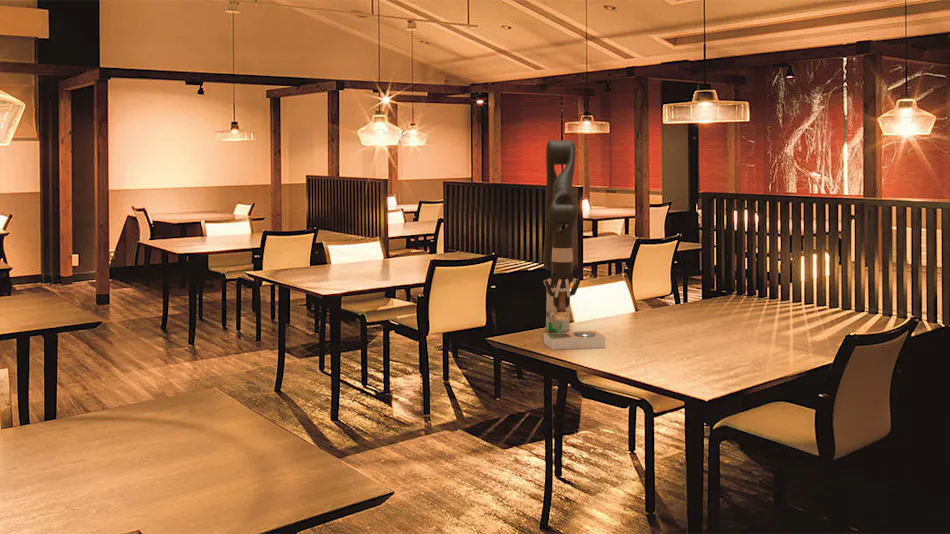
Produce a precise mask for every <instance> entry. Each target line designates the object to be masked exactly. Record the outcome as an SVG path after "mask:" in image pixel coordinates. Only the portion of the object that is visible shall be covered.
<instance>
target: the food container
mask: <svg viewBox="0 0 950 534" xmlns="http://www.w3.org/2000/svg"><path fill="white" fill-rule="evenodd" d="M546 316H547V324H546V323H545V330H546V331H545V333H552V332H561V327H562V321H557V320H554V311H547V313H546V315H545V317H546Z"/></svg>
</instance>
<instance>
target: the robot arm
mask: <svg viewBox="0 0 950 534" xmlns="http://www.w3.org/2000/svg"><path fill="white" fill-rule="evenodd" d="M576 152H577V150H576V144H575V142H574V141H573V140H570V139H569V140H563V139H562V140H559V139H557V140H555V139H554V140H553V139H552V140H548V141H547V143H546V149H545V154H546V155H545V159H546V160H545V161H546V163H545V165H546V187H545V189H546V190H545V205H544V207H545V208H544V209H545V210H544V211H545V212H544V213H545V214H544V215H545V216H544V217H545V218H544V220H545V221H544V223H545V224H544V225H545V232H544V242H543V243H544V245H543V253H542V254H543V255H542V256H543V258H542V260H543V261H542V263H543V264H542V265H543V267H544V269H545V270H548V271H551V275H550V277H549V278H547V279H543V281H542V282H543V285H544V286H545V290H546V302H545V303H546V307H545V308H546V309H545V310H546V313H547V311H556V310H557V308H558V293H559V292H566V311H568V320H567V321H562V327H561V332H569V331H570V315H571V314H570V309H571V307H570V305H571V297H573V296H575V295H576V293H577V290H578V288H579V286H580V284H581V280H580V279H578V278H574V275H573V265H574V264H573V263H574V262H573V260H574V254H573V236H574V235H573V234H574V228H575V226H576V223H577V219H578V216H579V211H578V208H577V206H576V205H575V204H572V202H573V180H574V179H573V178H574V173H575V165H576V154H577V153H576ZM555 165H557V166H565V167H564V168H563V170H562V171H561V172H560V174H557V172H556V169H555ZM563 225H567V226H566V227H565V228H564V229H561V228H562V227H563ZM571 284H572V287H571ZM546 324H547V316H546V315H545V325H546Z"/></svg>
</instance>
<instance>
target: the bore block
mask: <svg viewBox="0 0 950 534" xmlns="http://www.w3.org/2000/svg"><path fill="white" fill-rule="evenodd" d="M543 344H544V345H545V346H547V347H548V349H550V350H551V351H557V350H561V349H564V350H583V349H584V350H585V349H586V350H587V349H605V348H606V336H605V335H603V334H601V333H600V332H598V331H597V330H588V331H587V330H584V331H583V330H582V331H580V330H579V331H562V332H552V333H546V332H543ZM561 351H562V350H561Z"/></svg>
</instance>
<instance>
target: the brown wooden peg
mask: <svg viewBox="0 0 950 534" xmlns="http://www.w3.org/2000/svg"><path fill="white" fill-rule="evenodd" d="M554 320H557V321H567V320H568V311H566V292H559V293H558V308H557V310H556V311H554Z"/></svg>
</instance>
